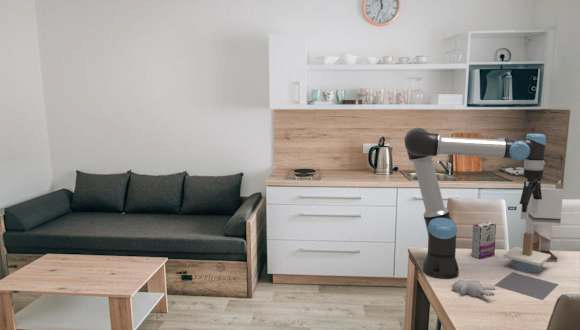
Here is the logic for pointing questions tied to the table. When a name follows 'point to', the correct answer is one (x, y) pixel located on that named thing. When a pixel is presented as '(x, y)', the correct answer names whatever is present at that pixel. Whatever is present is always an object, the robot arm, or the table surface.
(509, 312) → the table surface
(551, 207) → the display case
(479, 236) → the candy bar box
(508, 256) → the cream lid
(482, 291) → the bunny figurine
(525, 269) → the slate bowl
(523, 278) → the rubber mat
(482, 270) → the table surface
